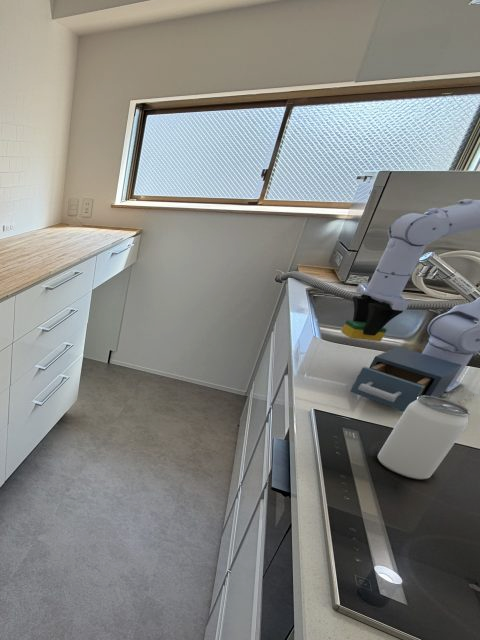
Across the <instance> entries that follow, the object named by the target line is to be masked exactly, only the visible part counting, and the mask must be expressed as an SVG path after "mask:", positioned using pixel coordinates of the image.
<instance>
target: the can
mask: <svg viewBox="0 0 480 640" xmlns="http://www.w3.org/2000/svg"><path fill="white" fill-rule="evenodd" d="M470 415H471V411H470V410H469V409H467V408H466V407H464V406H463V405H460V404H459V403H456V402H453V401H451V400H448V399H444V398H441V397H439V398H437V397H432V396H419V397H417V400H415V401H414V402H412V403H410V404H409V405H408V407H407V408H406V410H405V411H404V412H403V413H402V415H401V416H400V418H399V419H398V421H397V423H396V424H395V426H394V427H393V429H392V430H391V432H390V434H389V436H388V437H387V439H386V441H384V443H383V446H382V447H381V449H380V450H379V452H378V454H377V459H378V461H379V463H380V464H381V466H383V467H384V468H386V469H387V470H389V471H391V472H393V473H395V474H396V475H400V476H402V477H405V478H408V479H413V480H427V479H430V478H431V477H432V475H433V474H434V473H435V471H436V470H438V467H439V466H440V464H442V462H443V460H444V459H445V458H446V456H447V455H448V453H450V451H451V449H452V447H453V446H454V445H455V443H456V442H457V441H458V439H459V438H460V437H461V435H462V433H463V432H464V430H465V429H466V428H467V426H468V424H469V417H468V416H470Z"/></svg>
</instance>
